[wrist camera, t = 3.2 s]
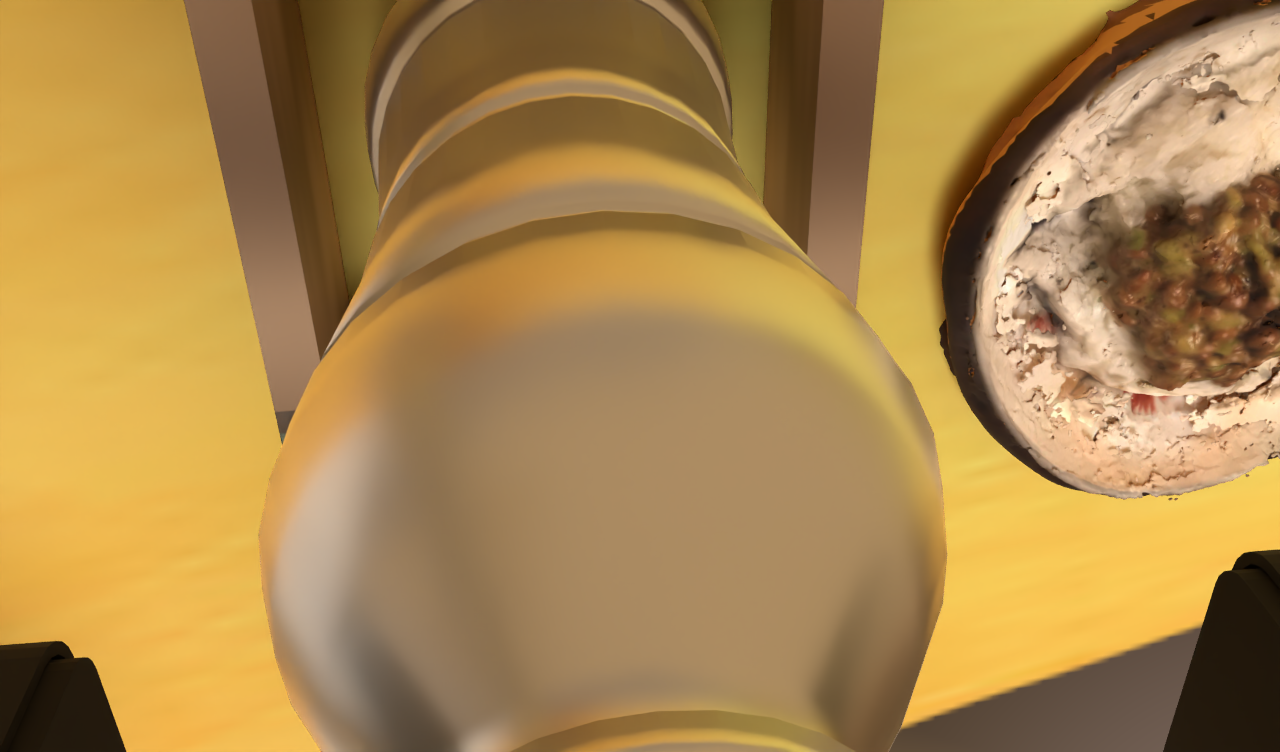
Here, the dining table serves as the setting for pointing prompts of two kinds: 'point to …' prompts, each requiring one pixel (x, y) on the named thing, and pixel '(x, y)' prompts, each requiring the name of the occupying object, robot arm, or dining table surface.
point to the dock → (300, 193)
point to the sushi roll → (1131, 259)
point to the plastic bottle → (592, 423)
